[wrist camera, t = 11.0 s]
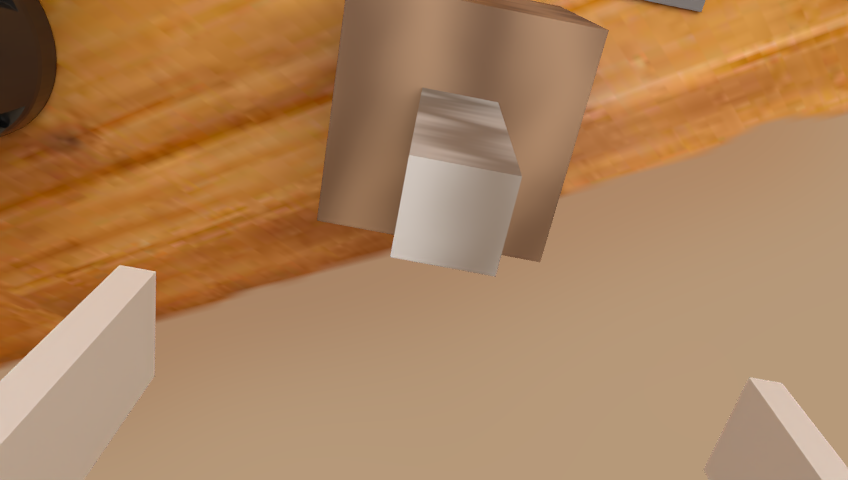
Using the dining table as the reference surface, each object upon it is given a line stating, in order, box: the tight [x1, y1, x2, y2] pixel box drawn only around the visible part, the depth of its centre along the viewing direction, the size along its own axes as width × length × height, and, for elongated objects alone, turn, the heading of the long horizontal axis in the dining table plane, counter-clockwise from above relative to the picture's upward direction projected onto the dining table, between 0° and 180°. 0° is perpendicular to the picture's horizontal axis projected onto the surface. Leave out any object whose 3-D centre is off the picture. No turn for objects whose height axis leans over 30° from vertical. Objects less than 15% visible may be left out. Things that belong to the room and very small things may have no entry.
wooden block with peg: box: [317, 0, 609, 276], centre depth 35 cm, size 13×13×27 cm
